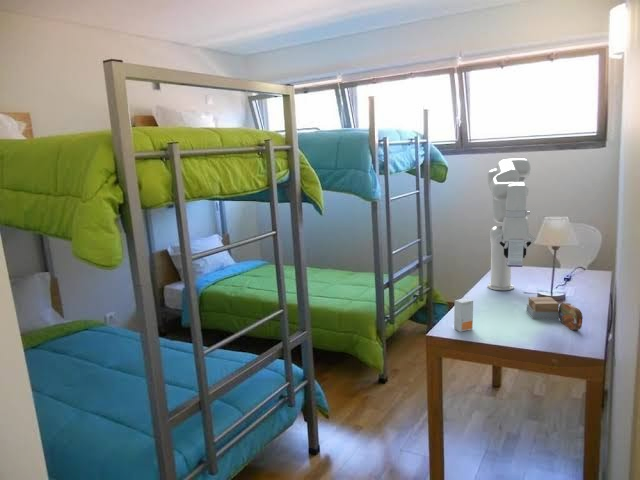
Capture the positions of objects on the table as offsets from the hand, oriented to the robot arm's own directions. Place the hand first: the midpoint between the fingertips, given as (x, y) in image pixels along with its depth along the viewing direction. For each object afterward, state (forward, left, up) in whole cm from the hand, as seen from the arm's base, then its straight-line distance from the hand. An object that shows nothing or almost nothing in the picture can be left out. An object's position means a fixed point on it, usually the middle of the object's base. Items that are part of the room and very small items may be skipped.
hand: (514, 256), depth 201 cm
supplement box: (0, 0, -4) cm, 4 cm away
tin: (+12, +19, -26) cm, 34 cm away
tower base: (0, +12, -26) cm, 28 cm away
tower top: (0, +12, -22) cm, 25 cm away
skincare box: (+18, -22, -25) cm, 39 cm away
